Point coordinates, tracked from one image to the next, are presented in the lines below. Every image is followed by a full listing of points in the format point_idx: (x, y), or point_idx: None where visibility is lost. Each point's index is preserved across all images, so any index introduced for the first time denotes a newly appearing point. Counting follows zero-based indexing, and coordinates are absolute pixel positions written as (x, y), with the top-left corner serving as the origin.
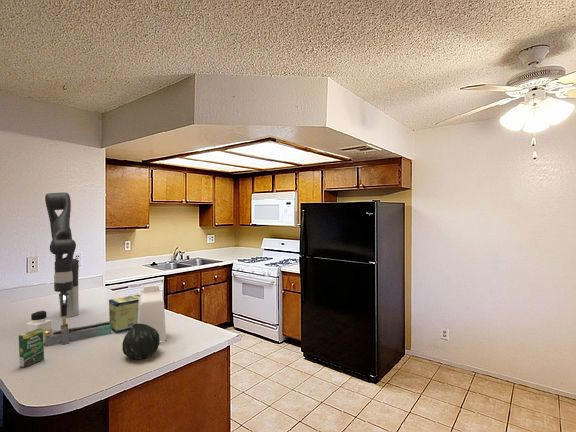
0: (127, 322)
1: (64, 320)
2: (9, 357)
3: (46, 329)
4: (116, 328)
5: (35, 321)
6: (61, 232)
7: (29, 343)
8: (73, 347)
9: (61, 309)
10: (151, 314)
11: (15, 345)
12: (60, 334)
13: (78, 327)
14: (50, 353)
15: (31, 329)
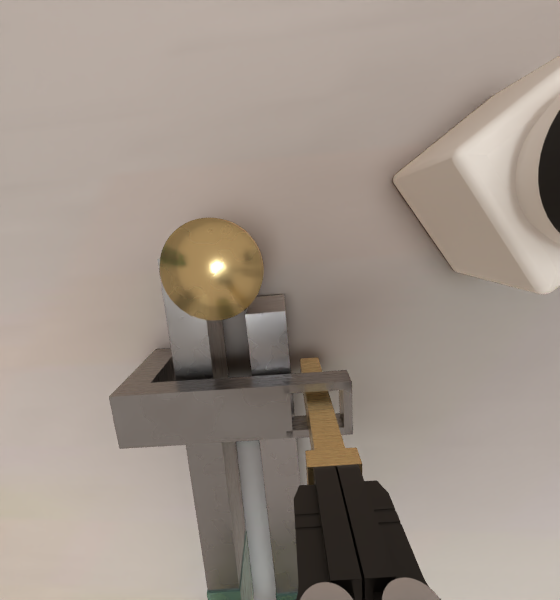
0: None
1: (313, 449)
2: (54, 20)
3: (461, 245)
4: None
5: (538, 125)
6: None
7: None
8: (74, 412)
9: (327, 575)
10: None
11: (329, 26)
12: (187, 367)
13: (283, 487)
14: (20, 291)
15: (490, 109)
